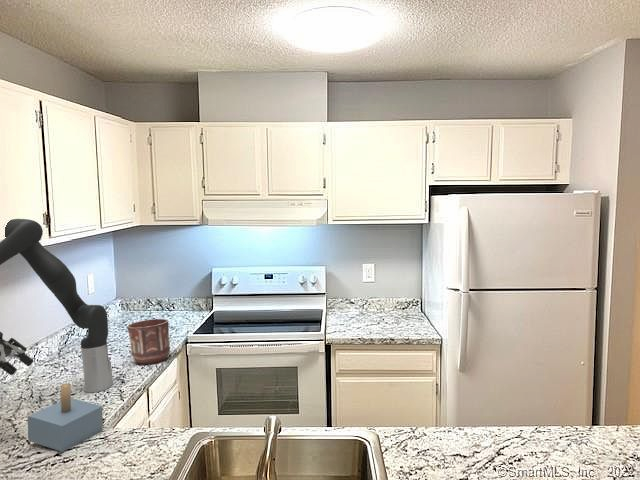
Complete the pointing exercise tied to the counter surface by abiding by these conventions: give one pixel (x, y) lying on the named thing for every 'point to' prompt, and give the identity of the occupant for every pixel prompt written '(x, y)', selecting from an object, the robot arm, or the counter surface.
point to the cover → (65, 422)
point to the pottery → (149, 340)
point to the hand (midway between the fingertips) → (23, 368)
